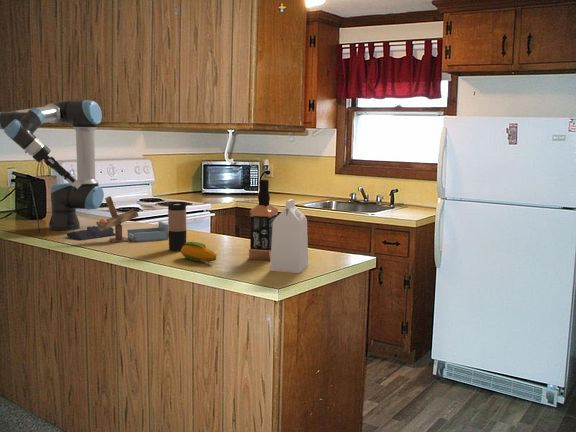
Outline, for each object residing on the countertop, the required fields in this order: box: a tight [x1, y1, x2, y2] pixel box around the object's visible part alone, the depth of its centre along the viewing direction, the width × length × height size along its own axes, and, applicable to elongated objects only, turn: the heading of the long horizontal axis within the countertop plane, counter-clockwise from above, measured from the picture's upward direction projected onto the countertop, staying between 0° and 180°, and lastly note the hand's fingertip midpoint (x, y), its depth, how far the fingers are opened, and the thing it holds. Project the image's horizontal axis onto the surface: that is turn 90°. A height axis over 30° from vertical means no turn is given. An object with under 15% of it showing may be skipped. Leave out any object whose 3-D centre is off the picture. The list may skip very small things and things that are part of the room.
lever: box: [95, 196, 140, 231], centre depth 282 cm, size 18×9×12 cm, turn 118°
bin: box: [127, 220, 169, 243], centre depth 290 cm, size 16×12×7 cm
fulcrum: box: [109, 223, 129, 244], centre depth 284 cm, size 7×7×8 cm
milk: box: [269, 198, 309, 274], centre depth 231 cm, size 12×12×26 cm
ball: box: [98, 218, 107, 224], centre depth 280 cm, size 4×4×4 cm
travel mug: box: [167, 202, 187, 252], centre depth 264 cm, size 8×8×20 cm
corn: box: [180, 241, 217, 263], centre depth 244 cm, size 7×8×20 cm
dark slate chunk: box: [66, 225, 115, 241], centre depth 296 cm, size 15×22×5 cm
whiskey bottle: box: [248, 178, 279, 262], centre depth 249 cm, size 10×10×32 cm
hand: (77, 185), depth 276 cm, fingers open, 9 cm apart
